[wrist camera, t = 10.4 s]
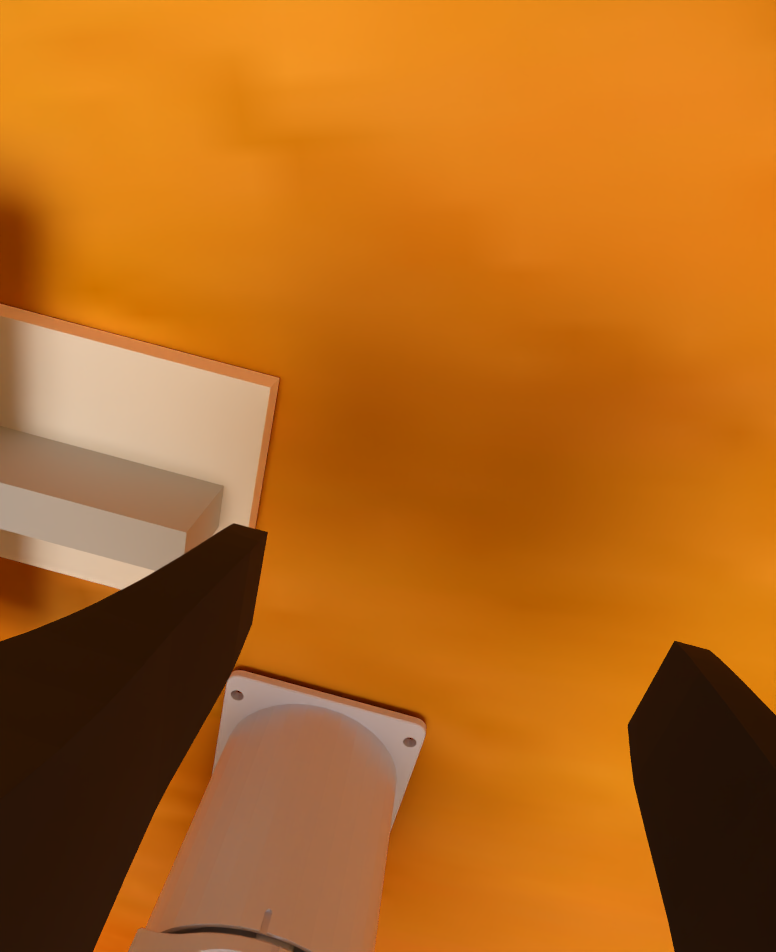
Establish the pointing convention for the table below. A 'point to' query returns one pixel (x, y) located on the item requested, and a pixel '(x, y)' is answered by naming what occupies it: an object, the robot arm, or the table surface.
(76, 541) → the ridge stand
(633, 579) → the table surface
